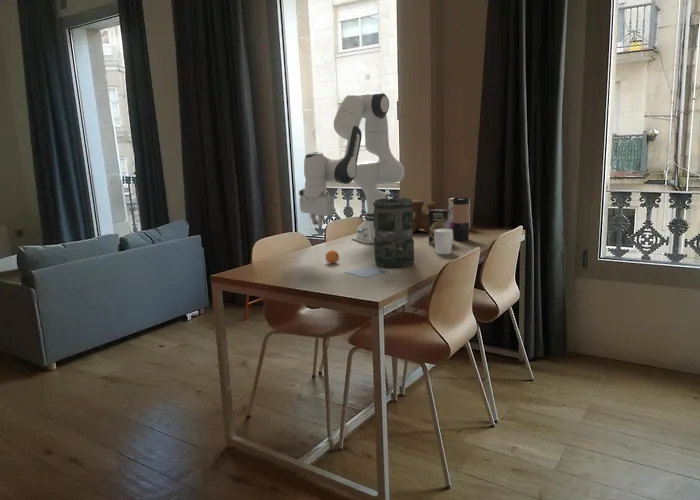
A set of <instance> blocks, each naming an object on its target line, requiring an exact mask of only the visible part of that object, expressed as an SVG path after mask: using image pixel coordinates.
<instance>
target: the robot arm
mask: <svg viewBox="0 0 700 500" xmlns="http://www.w3.org/2000/svg"><path fill="white" fill-rule="evenodd" d="M389 109H390V100H389V98H388V96H387V94H385V93H384V92H380V91H379V92H378V91H377V92H371V91H367V92H361V93H360V92H359V93H350V94H347V95H346V96H344V98H343V99H342V102H341V103H340V105H339V107H338V108H337V111H336V114H335V117H334V119H333V130H334V131H335V133H336V134H337V135H338V136H340V137H341V138H342V139H345V140H346V141H347V143H346V148H345V152H344V156H343V157H342V158H340V159H339V158H338V159H331V158H329V157H326V156H325V155H324V153H323V152H321V151H314V152H310V153H307V154H305V156H304V160H303V175H304V178H305V183H304V188H302V189H300V190H298V196H300V197H299V208H300V211H301V213H302V214H303V213H304V214H309V216H310V219H311V223H312V225H313V226H314V225H315V226H316V225H317V226H320V227H321V226H323V224H324V219H325V217H331V216H334V214H335V205H334V200H333V198H332V196H331V194H330V193H329V192H327V183H339V184H343V185H344V184H345V185H347V184H350V183H352V181H353V182H354V183H355V184H356V185H358V187H360V188H361V190H362V191H363V193H364V195H365V200H366V208H367V212H366V213H364V214H363V216H364V217H365V219H364V221H363V222H362V223H361V224H359V225H358V226H357V228H356V236H353V237H351V240H353V241H355V242H359V243H362V244H374V237H375V228H374V216H373V212H374V207H375V206H373V203H374V202H375V201H376V200H378V199H386V194H387V193H386V192H384V191H382V190H380V189H378V187H377V185H384V184H386V185H387V184H391V185H392V184H395V183H401V181H402V180H403V178H404V176H405V168H404V165H403V163H401V162H400V161H399V160H398V159H397V158H396V157H395V156H394V154H393V153H392V151H391V148H390V143H389V142H390V141H389V124H388V117H387V113H388V111H389ZM362 119H365V121H364V143H365V145H364V146H365V150H366V151H368V152H369V153H370V154H372V155H375V156H377V157H378V160H374V161H361V162H358V159H359V153H360V149H361V142H362V130H361V129H360V126H361V125H360V124H361V121H362ZM387 199H391V198H390V196H387ZM317 216H318V217H317ZM317 218H318V219H317Z"/></svg>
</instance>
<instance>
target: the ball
mask: <svg viewBox="0 0 700 500" xmlns="http://www.w3.org/2000/svg"><path fill="white" fill-rule="evenodd" d="M339 259H340V255H339V253H338V252H337V251H336V250H334V249H330V250H328V251H327V252H326V254H325V260H326V262H327V263H329V264H335V263H337V262H338V261H339Z"/></svg>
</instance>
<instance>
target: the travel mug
mask: <svg viewBox="0 0 700 500" xmlns="http://www.w3.org/2000/svg"><path fill="white" fill-rule="evenodd" d="M453 198H454V199H453V229H452V230H453V233H452V240H453V241H455V242H456V241H457V242H466V241H469V239H470V238H469V235H470V234H469V231H470V229H469V199H470V198H468V197H453Z"/></svg>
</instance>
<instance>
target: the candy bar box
mask: <svg viewBox="0 0 700 500" xmlns="http://www.w3.org/2000/svg"><path fill="white" fill-rule="evenodd" d="M454 198H455V197H451V198H447V210H450V229H452V230H453V199H454ZM470 228H471V199H470V198H469V230H470Z"/></svg>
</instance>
